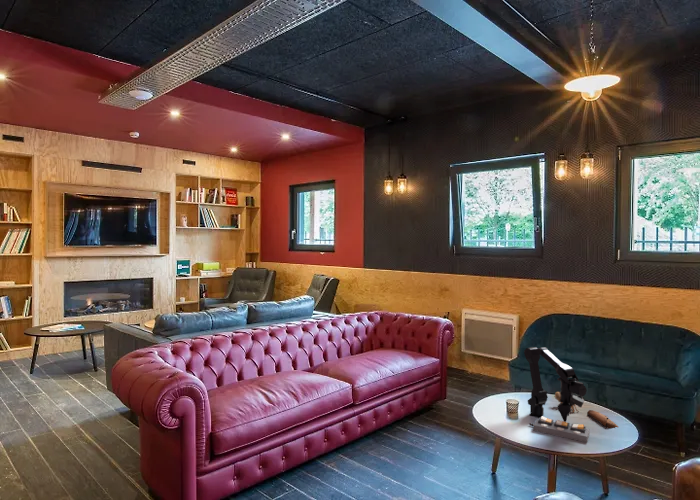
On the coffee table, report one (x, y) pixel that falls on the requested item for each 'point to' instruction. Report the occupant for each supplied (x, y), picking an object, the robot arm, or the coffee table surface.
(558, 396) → the lion figurine
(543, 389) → the robot arm
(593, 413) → the sunglasses case
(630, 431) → the coffee table surface
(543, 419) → the block
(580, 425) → the rocker right
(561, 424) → the rocker middle
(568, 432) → the power strip
